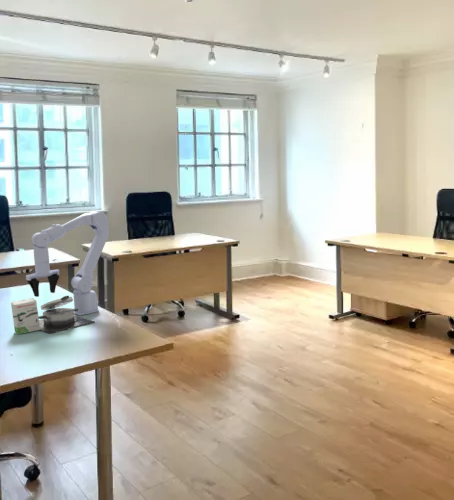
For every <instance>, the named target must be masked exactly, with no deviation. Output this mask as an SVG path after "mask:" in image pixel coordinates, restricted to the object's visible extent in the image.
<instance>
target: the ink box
mask: <svg viewBox="0 0 454 500" xmlns="http://www.w3.org/2000/svg"><path fill="white" fill-rule="evenodd" d="M10 305H11V313H12V320H13V326H14V327H13V328H14V333H15V334H17V335H22V334H26V333H32V332H36V331H39V330H40V325H39V320H40V319H39V311H38V304H37V300H36V299H35V298H32V297H31V298H28V299H27V298H25V299H21V300H15V301H11V303H10Z"/></svg>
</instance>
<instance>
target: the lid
mask: <svg viewBox="0 0 454 500" xmlns="http://www.w3.org/2000/svg"><path fill="white" fill-rule="evenodd" d="M72 302H74V298H73V297H72V296H70V295H64V296H63V297H61V298H58V299H54V300H52V301H48V302H45V303H43V304H42V305H40V309H41V311H47V310H50V309H56V308H61V307H63V306H66V305H68V304H69V303H72Z"/></svg>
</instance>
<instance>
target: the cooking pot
mask: <svg viewBox="0 0 454 500" xmlns="http://www.w3.org/2000/svg"><path fill="white" fill-rule="evenodd" d="M75 311H78V309H77V308H71V307H57V308H54V309H50V310H43V312H42V315H40V316H39V315H38V317H39V325H40V330H38V331H40V332H42V333H46V334H49V335H50V334H56V333H57V332H58V333H59V332H62V331H67V330H70V329H75V328H79V327H82V326H86V325H90V324H94V323H95V320H91V319H88V318H84V317H81V316H79V315H76V314H74V312H75Z"/></svg>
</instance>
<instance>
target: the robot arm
mask: <svg viewBox="0 0 454 500" xmlns="http://www.w3.org/2000/svg"><path fill="white" fill-rule="evenodd" d="M83 225H86V226H87V225H88V226H90V227H91V228H92V230H93V232H94V237H93V240H92V242H91V244H90V247H89V248H88V252H87V254H86V256H85V259H84V261H83V262H82V266H81V267H80V269H78V270H77V272H76V274H75V275H74V276H73V277H72V278H71V280H70V285H71V288H72V289H73V291H72V294H73V307H74V308H77V309H78V311H75V312H74V315H76V316H84V315H87V314H93V313H97V312H100V310H99V304H98V301H99V300H98V295H97V292H96V291H95V290H92V287H93V281H94V280H93V279H94V272H95V271H94V270H95V269H96V267H97V264H98V262H99V259H100V256H101V254H102V253H103V250H104V247H105V245H106V242H107V240H108V238H109V235H110V234H109V233H110V231H109V219H108V217H107V215H106V214H105V213H104V212H103V211H95V210H91V211H88V212H85V213H83V214H81V215H79V216H77V217H75V218H73V219H71V220H69V221H67V222H65V223H64V224H59V223H56V224H55V223H53V224H51V226H50V227H48V228H46V229H42V230H41V232H36V233H34V234H33V235H32V237H31V239H30V243H31V244H32V246H33V261H34V269H35V272H33V273H31V274H26V275H25V280H26V281H27V284H29V286H30V288H31V290H32V292H33V296H34V297H37V298H38V297H39V296H40V289H39V286H40V280H38V279H40V278H41V279H42V278H47V281H48V284H49V291H50V293H51V294H55V293H56V287H57V284H58V281H59V279H60V269H51V268H50V266H51V265H50V256H49V247H48V246H49V245H50V244H51V243H53V242H55V241H57V240H59V239H61V238H63V237H65V235H66V232H69V231H72V230H73V229H76V228H78V227H81V226H83ZM74 308H73V309H74Z"/></svg>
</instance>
